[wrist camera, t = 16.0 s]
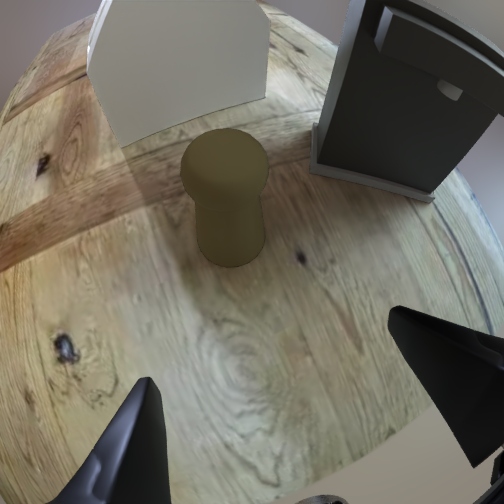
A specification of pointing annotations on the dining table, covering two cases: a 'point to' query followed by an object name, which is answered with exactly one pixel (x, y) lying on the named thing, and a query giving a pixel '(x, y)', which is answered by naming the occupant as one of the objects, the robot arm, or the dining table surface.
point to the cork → (227, 194)
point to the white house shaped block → (175, 61)
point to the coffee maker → (405, 97)
